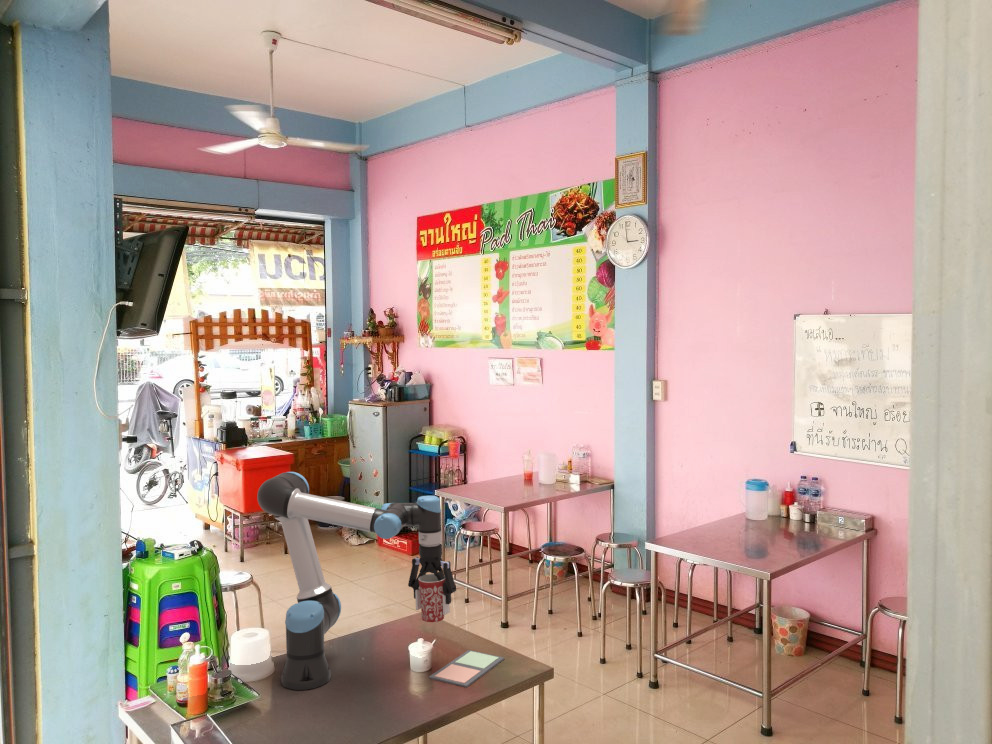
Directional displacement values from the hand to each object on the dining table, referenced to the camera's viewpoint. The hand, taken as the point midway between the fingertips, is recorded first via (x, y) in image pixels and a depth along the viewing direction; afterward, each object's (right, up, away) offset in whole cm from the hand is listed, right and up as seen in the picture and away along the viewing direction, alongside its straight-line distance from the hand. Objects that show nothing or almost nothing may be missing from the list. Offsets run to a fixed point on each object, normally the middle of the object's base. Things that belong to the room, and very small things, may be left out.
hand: (432, 611), depth 252 cm
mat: (+12, -18, -2) cm, 22 cm away
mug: (0, -2, 0) cm, 2 cm away
